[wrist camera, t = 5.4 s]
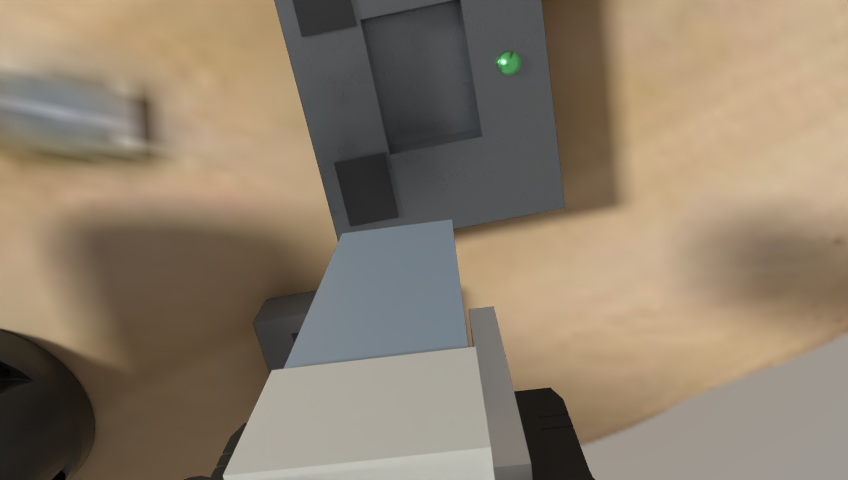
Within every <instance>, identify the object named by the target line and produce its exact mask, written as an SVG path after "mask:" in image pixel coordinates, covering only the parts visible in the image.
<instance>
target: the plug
mask: <svg viewBox="0 0 848 480" xmlns="http://www.w3.org/2000/svg"><path fill="white" fill-rule="evenodd" d="M223 478H224V480H495V477H494V469H493V461H492V452H491V445H490V438H489V432H488V425H487V418H486V412H485V405H484V399H483V392H482V386H481V379H480V372H479V366H478V359H477V353H476V347H468V341H467V333H466V325H465V318H464V310H463V302H462V294H461V286H460V279H459V271H458V263H457V255H456V247H455V240H454V232H453V224H452V219H451V220H443V221H435V222H427V223H420V224H412V225H404V226H396V227H389V228H381V229H373V230H365V231H358V232H350V233H342V235H341V237H340V240H339V242H338V244H337V247H336V249H335V251H334V254H333V256H332V258H331V260H330V263H329V265H328V267H327V270H326V272H325V274H324V277H323V279H322V281H321V283H320V286H319V288H318V290H317V293H316V295H315V297H314V300H313V302H312V304H311V307H310V309H309V311H308V313H307V316H306V318H305V320H304V323H303V325H302V327H301V330H300V332H299V334H298V336H297V339H296V341H295V343H294V346H293V348H292V350H291V353H290V355H289V357H288V359H287V362H286V364H285V366H284V369H278V370H272V371H271V373H270V376H269V378H268V380H267V382H266V384H265V386H264V388H263V391H262V393H261V395H260V397H259V399H258V401H257V403H256V406H255V408H254V410H253V412H252V414H251V416H250V418H249V421H248V423H247V425H246V427H245V429H244V431H243V433H242V435H241V438H240V440H239V442H238V444H237V446H236V448H235V450H234V453H233V455H232V457H231V459H230V461H229V463H228V465H227V468H226V470H225V472H224V474H223Z"/></svg>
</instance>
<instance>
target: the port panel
mask: <svg viewBox="0 0 848 480" xmlns="http://www.w3.org/2000/svg"><path fill="white" fill-rule="evenodd" d="M274 2H275V6H276V9H277V13H278V17H279V21H280V24H281V28H282V32H283V36H284V39H285V43H286V47H287V51H288V54H289V58H290V62H291V66H292V70H293V73H294V77H295V81H296V85H297V88H298V92H299V96H300V100H301V103H302V107H303V111H304V115H305V119H306V122H307V126H308V130H309V134H310V137H311V141H312V145H313V149H314V152H315V156H316V160H317V164H318V167H319V171H320V175H321V179H322V183H323V186H324V190H325V194H326V198H327V201H328V205H329V209H330V213H331V216H332V220H333V224H334V228H335V231H336V235H337V239H338V242H339V240H340V237H341V235H342V233H350V232H358V231H365V230H373V229H381V228H389V227H396V226H404V225H412V224H420V223H427V222H435V221H443V220H451V219H452V224H453V229H457V228H462V227H468V226H473V225H478V224H483V223H488V222H494V221H499V220H504V219H509V218H515V217H520V216H525V215H530V214H535V213H541V212H546V211H551V210H556V209H562V208H565V203H564V195H563V186H562V177H561V168H560V160H559V151H558V142H557V133H556V125H555V116H554V107H553V98H552V90H551V81H550V72H549V63H548V55H547V46H546V37H545V28H544V19H543V11H542V2H541V0H274Z"/></svg>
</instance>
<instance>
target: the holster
mask: <svg viewBox="0 0 848 480" xmlns="http://www.w3.org/2000/svg"><path fill="white" fill-rule="evenodd" d="M316 293H317V290H316V291H311V292H306V293H300V294H295V295H290V296H285V297H279V298H274V299H269V300H266V301H265V303H264V304H263V306H262V308H261V310H260V311H259V313H258V315H257V317H256V319H255V320H254V322H253V326H254V329H255V332H256V334H257V337H258V340H259V343H260V346H261V349H262V352H263V355H264V358H265V361H266V364H267V367H268V370H269V373H271V371H272V370H278V369H284V366H285V364H286V362H287V359H288V357H289V355H290V353H291V350H292V348H293V346H294V343H295V341H296V339H297V336H298V334H299V332H300V330H301V327H302V325H303V323H304V320H305V318H306V316H307V313H308V311H309V309H310V307H311V304H312V302H313V300H314V297H315V295H316Z"/></svg>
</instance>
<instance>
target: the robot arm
mask: <svg viewBox="0 0 848 480" xmlns="http://www.w3.org/2000/svg"><path fill="white" fill-rule="evenodd" d="M469 317H470V325H471V333H472V341H473V347H476V353H477V359H478V366H479V372H480V379H481V386H482V392H483V399H484V405H485V412H486V418H487V425H488V432H489V438H490V445H491V452H492V461H493V469H494V477H495V480H595V479H594V478H593V477H592V475H591V473H590V471H589V468H588V466H587V463H586V460H585V457H584V455H583V452H582V449H581V447H580V444H579V441H578V438H577V436H576V433H575V430H574V428H573V425H572V422H571V419H570V417H569V415H568V411H567V409H566V406H565V403H564V400H563V399H562V398H561V397H560V396H559V395H558V394H557V393H556V392H554V391H553V390H552V389H551V388H543V389H534V390H525V391H516V392H514V390H513V385H512V381H511V377H510V373H509V369H508V365H507V360H506V356H505V352H504V348H503V344H502V339H501V335H500V331H499V327H498V323H497V319H496V314H495V310H494V306H493V307H484V308H476V309H469ZM246 425H247V423H244V424H243V425H242V426H241V427H240V428H239V429H238V430H237V431H236V432H235V433H234V434H233V435H232V436H231V437H230V439H229V441H228V443H227V445H226V447H225V449H224V451H223V456H221V457H220V459H219V462H218V464H217V468H215V470H214V472H213V474H212V476H211V478H209V477H204V476H198V477H190V478H187V479H184V480H224V478H223V474H224V472H225V470H226V468H227V465H228V463H229V461H230V459H231V457H232V455H233V453H234V450H235V448H236V446H237V444H238V442H239V440H240V438H241V435H242V433H243V431H244V429H245V427H246ZM94 431H95V426H94V417H93V412H92V409H91V406H90V403H89V400H88V398H87V396H86V394H85V392H84V390H83V389H82V387H81V386H80V384H79V383H78V381H77V380H76V379H75V377H74V376H73V375H72V374H71V373H70V372H69V370H68V369H67V368H66V367H65V366H64V365H62V364H61V363H60V362H59V361H58V360H57V359H56V358H54V357H53V356H52V355H50V354H49V353H48V352H46V351H45V350H43V349H42V348H40V347H38V346H36V345H35V344H33V343H31V342H29V341H27V340H25V339H23V338H20V337H18V336H15V335H12V334H10V333H6V332H3V331H0V480H70V479H71V478H72V477H73V476H74V474H75V473H76V472H77V470H78V469H79V468H80V467H81V465H82V464H83V463H84V461H85V460H86V458H87V456H88V455H89V452H90V450H91V447H92V444H93V440H94Z"/></svg>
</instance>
